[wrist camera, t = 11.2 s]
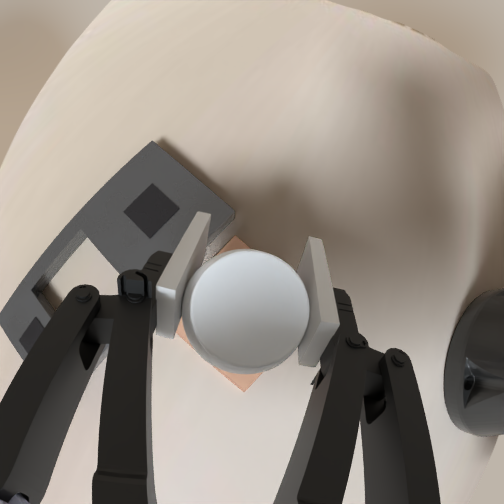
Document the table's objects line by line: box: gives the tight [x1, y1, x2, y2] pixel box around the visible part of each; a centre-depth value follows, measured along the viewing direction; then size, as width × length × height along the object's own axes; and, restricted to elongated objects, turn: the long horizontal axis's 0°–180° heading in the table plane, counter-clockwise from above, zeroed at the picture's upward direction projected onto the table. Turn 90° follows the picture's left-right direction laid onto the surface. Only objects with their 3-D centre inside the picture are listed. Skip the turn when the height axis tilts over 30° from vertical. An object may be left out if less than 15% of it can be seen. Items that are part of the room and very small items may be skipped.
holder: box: [0, 141, 235, 370], centre depth 20 cm, size 20×9×2 cm, turn 138°
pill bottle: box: [182, 249, 310, 374], centre depth 14 cm, size 5×5×10 cm
